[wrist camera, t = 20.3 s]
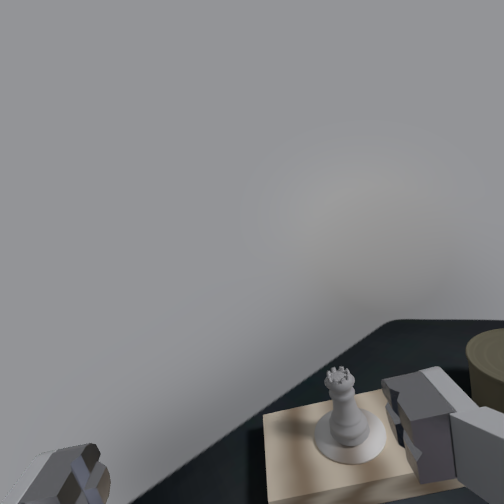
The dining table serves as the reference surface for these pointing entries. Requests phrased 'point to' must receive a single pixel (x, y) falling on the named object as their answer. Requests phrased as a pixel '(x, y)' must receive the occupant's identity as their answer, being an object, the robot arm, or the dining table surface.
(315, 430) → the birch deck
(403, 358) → the dining table surface
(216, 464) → the dining table surface
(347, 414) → the rook chess piece
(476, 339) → the can
